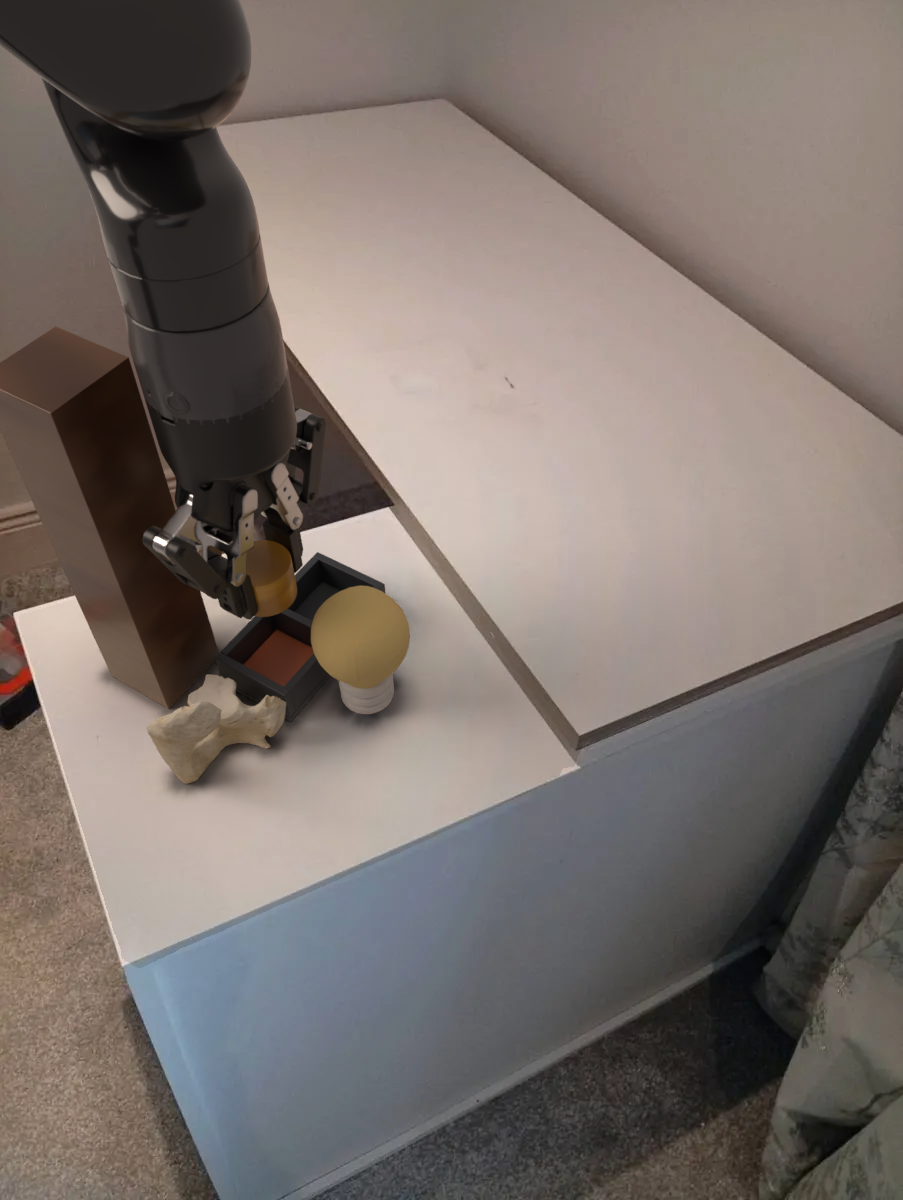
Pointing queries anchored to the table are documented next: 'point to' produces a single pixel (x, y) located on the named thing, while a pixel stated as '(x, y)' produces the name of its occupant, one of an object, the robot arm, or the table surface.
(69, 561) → the block
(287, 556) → the cylinder
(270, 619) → the dark grey open box
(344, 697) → the light bulb
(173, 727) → the bone
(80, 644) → the table surface
